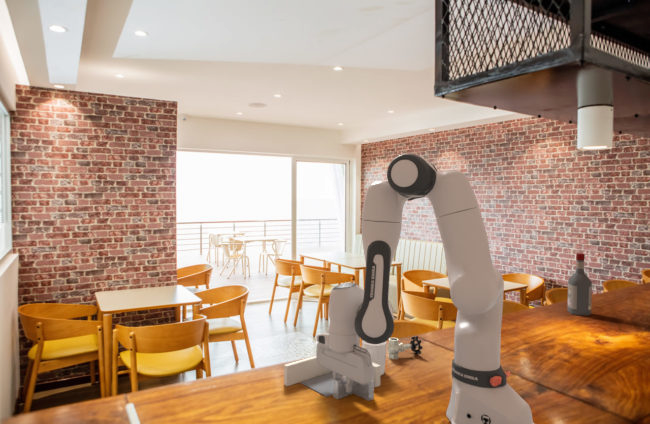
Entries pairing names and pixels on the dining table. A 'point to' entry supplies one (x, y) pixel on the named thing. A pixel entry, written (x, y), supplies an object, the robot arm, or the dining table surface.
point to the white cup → (377, 353)
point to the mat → (321, 384)
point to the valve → (403, 347)
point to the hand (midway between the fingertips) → (343, 389)
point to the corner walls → (315, 371)
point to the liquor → (579, 290)
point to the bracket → (357, 389)
